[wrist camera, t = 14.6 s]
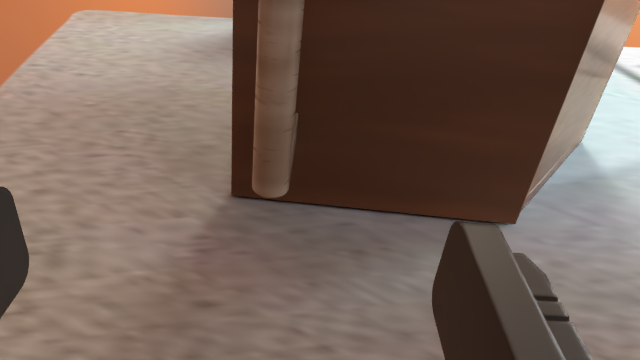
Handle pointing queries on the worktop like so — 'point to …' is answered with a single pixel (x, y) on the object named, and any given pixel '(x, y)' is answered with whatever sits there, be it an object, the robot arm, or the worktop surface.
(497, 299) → the robot arm
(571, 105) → the cupboard
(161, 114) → the worktop surface
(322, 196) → the shelf door
